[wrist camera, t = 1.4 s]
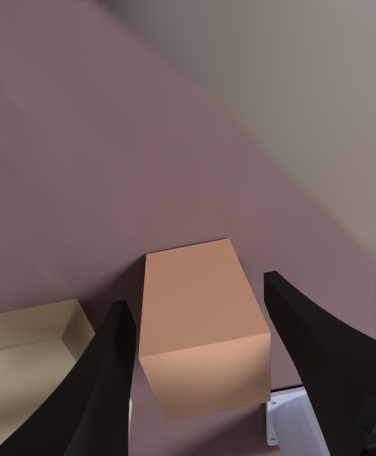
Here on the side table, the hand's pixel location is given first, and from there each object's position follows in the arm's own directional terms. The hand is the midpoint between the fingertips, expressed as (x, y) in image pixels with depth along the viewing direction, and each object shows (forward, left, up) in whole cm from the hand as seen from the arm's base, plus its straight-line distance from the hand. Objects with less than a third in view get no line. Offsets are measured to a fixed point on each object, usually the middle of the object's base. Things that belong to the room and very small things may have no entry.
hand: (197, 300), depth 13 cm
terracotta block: (0, 0, -2) cm, 2 cm away
